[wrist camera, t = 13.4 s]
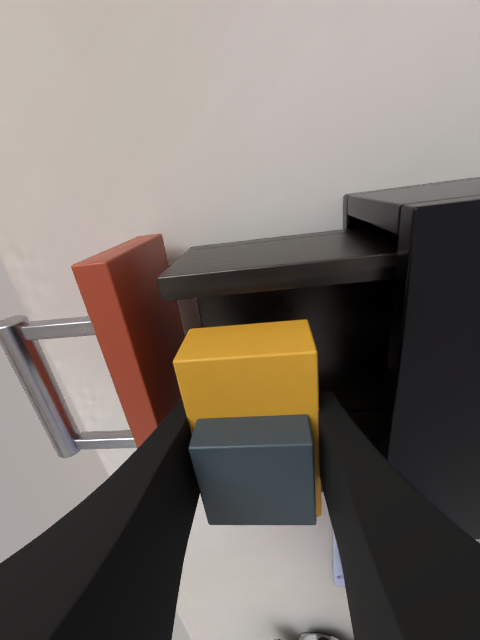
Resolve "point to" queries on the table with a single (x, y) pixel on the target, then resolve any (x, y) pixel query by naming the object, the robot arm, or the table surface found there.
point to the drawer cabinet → (432, 340)
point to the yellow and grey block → (253, 421)
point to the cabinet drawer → (217, 322)
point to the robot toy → (315, 637)
